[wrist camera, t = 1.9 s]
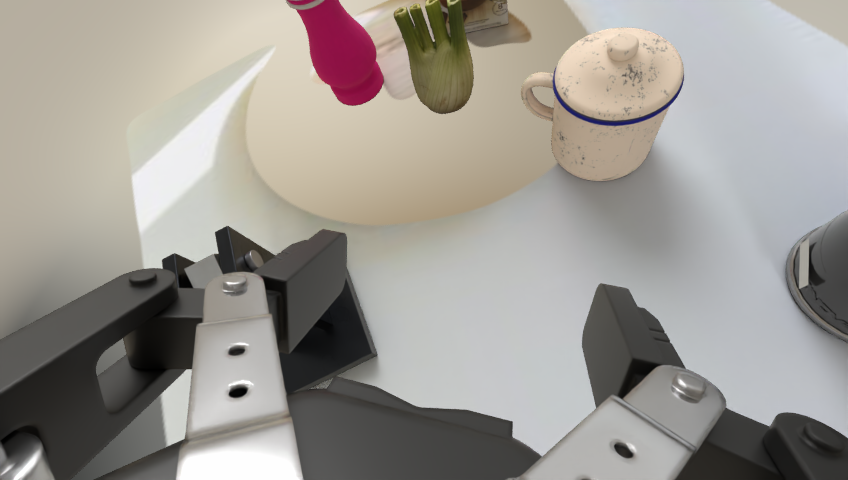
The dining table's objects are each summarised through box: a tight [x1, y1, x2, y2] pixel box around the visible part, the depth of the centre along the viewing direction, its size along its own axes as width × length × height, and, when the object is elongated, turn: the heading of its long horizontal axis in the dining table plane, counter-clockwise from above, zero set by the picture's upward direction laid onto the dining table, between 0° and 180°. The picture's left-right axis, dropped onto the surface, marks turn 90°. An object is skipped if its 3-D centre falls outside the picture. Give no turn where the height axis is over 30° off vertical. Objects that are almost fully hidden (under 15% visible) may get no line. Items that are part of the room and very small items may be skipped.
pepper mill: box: [286, 0, 383, 106], centre depth 40 cm, size 7×7×20 cm
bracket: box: [162, 226, 377, 394], centre depth 31 cm, size 12×10×14 cm
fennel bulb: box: [394, 0, 474, 114], centre depth 39 cm, size 6×5×12 cm
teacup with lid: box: [521, 28, 684, 181], centre depth 33 cm, size 12×9×12 cm
